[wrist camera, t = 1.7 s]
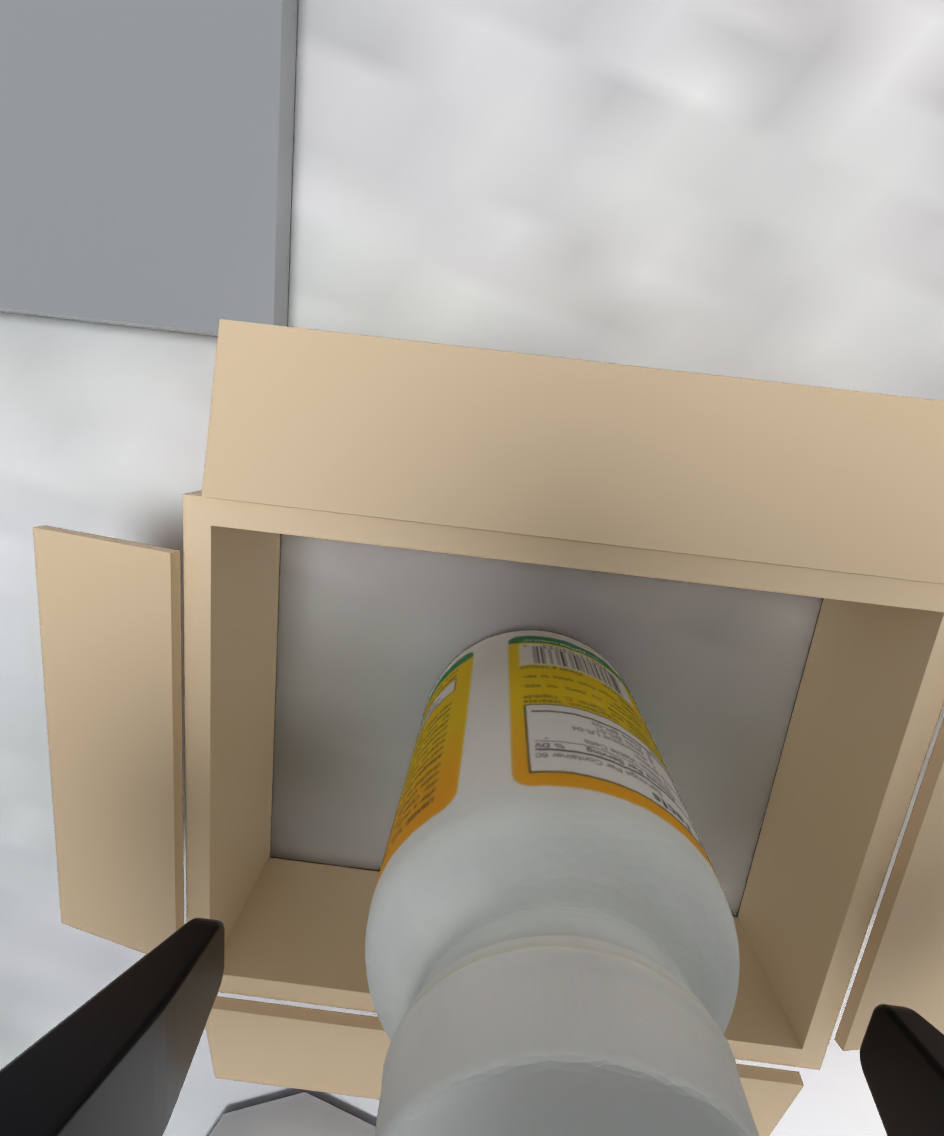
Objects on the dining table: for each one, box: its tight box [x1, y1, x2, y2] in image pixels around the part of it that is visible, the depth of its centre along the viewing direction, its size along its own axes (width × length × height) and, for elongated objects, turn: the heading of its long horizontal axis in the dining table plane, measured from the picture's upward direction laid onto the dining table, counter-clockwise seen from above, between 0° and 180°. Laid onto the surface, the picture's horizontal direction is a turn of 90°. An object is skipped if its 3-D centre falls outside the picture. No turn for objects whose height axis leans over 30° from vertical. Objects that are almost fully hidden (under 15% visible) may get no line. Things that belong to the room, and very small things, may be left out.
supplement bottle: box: [365, 630, 759, 1136], centre depth 10 cm, size 5×5×10 cm
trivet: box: [0, 0, 298, 336], centre depth 11 cm, size 9×9×1 cm
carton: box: [33, 319, 944, 1136], centre depth 13 cm, size 17×20×4 cm
